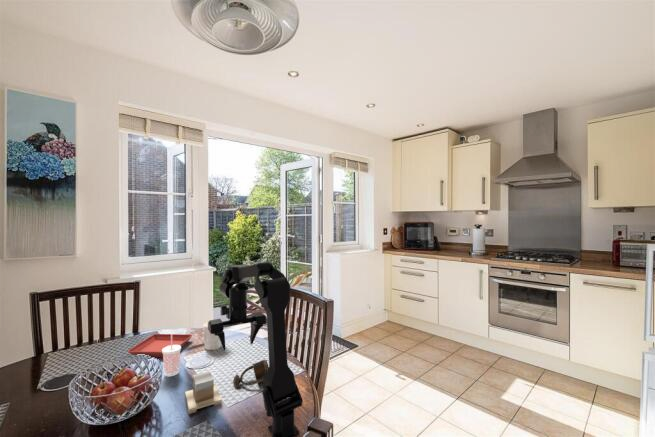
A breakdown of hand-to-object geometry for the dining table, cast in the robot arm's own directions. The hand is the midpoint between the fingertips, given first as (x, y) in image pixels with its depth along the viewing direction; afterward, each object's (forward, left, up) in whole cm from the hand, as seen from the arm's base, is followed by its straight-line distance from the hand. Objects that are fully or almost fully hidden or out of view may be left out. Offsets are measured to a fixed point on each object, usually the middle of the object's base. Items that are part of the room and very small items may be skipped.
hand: (238, 347), depth 103 cm
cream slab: (-5, +12, -12) cm, 18 cm away
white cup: (+33, +2, -12) cm, 35 cm away
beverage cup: (+18, +19, -12) cm, 29 cm away
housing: (-5, +12, -10) cm, 17 cm away
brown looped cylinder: (-2, -5, -12) cm, 13 cm away
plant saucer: (+42, +21, -13) cm, 49 cm away
